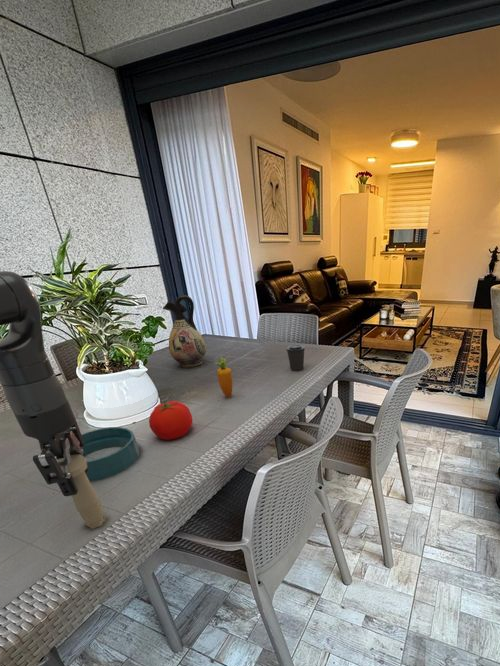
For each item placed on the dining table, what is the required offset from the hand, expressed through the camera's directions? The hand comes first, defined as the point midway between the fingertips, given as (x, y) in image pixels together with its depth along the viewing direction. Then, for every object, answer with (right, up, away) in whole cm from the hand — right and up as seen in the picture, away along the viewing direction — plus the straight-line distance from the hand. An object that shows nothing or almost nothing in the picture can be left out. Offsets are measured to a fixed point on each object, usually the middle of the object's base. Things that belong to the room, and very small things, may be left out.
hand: (77, 482), depth 67 cm
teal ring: (-10, +1, +25) cm, 28 cm away
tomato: (+3, +8, +37) cm, 38 cm away
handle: (0, -9, +5) cm, 11 cm away
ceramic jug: (-12, +39, +94) cm, 102 cm away
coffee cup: (+36, +35, +83) cm, 97 cm away
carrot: (+14, +20, +59) cm, 64 cm away
